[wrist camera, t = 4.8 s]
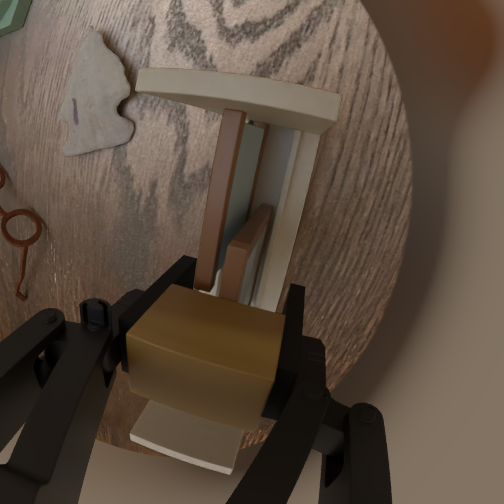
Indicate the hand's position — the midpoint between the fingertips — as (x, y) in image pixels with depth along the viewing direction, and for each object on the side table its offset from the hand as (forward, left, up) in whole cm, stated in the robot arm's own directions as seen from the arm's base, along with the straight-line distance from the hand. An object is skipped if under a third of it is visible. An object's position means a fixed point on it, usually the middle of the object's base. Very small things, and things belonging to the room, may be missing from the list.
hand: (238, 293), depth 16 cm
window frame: (-1, -1, -8) cm, 8 cm away
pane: (0, 0, -5) cm, 5 cm away
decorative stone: (-11, -17, -8) cm, 22 cm away
